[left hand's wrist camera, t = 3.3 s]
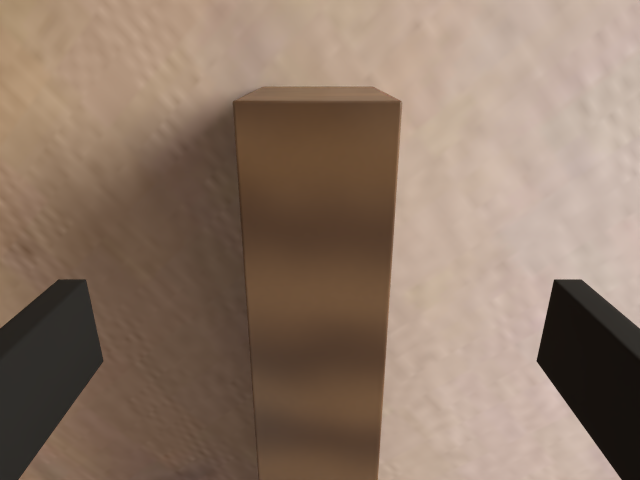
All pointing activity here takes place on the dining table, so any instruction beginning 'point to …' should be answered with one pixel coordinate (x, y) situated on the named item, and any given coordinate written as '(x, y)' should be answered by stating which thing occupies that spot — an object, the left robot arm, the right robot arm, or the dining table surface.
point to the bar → (317, 273)
